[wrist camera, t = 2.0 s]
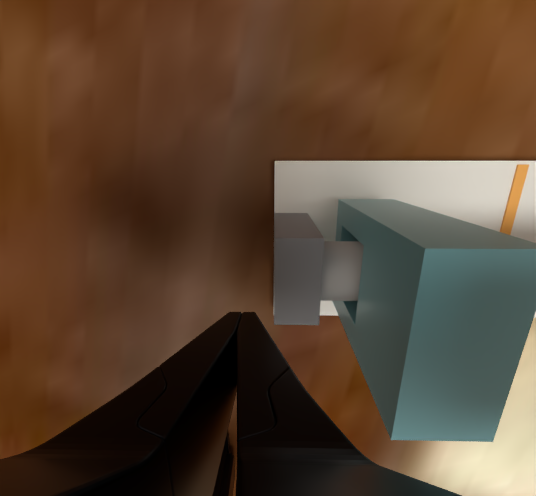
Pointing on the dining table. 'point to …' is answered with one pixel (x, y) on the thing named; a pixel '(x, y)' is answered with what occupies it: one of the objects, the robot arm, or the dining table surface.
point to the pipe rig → (378, 187)
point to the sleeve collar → (436, 317)
